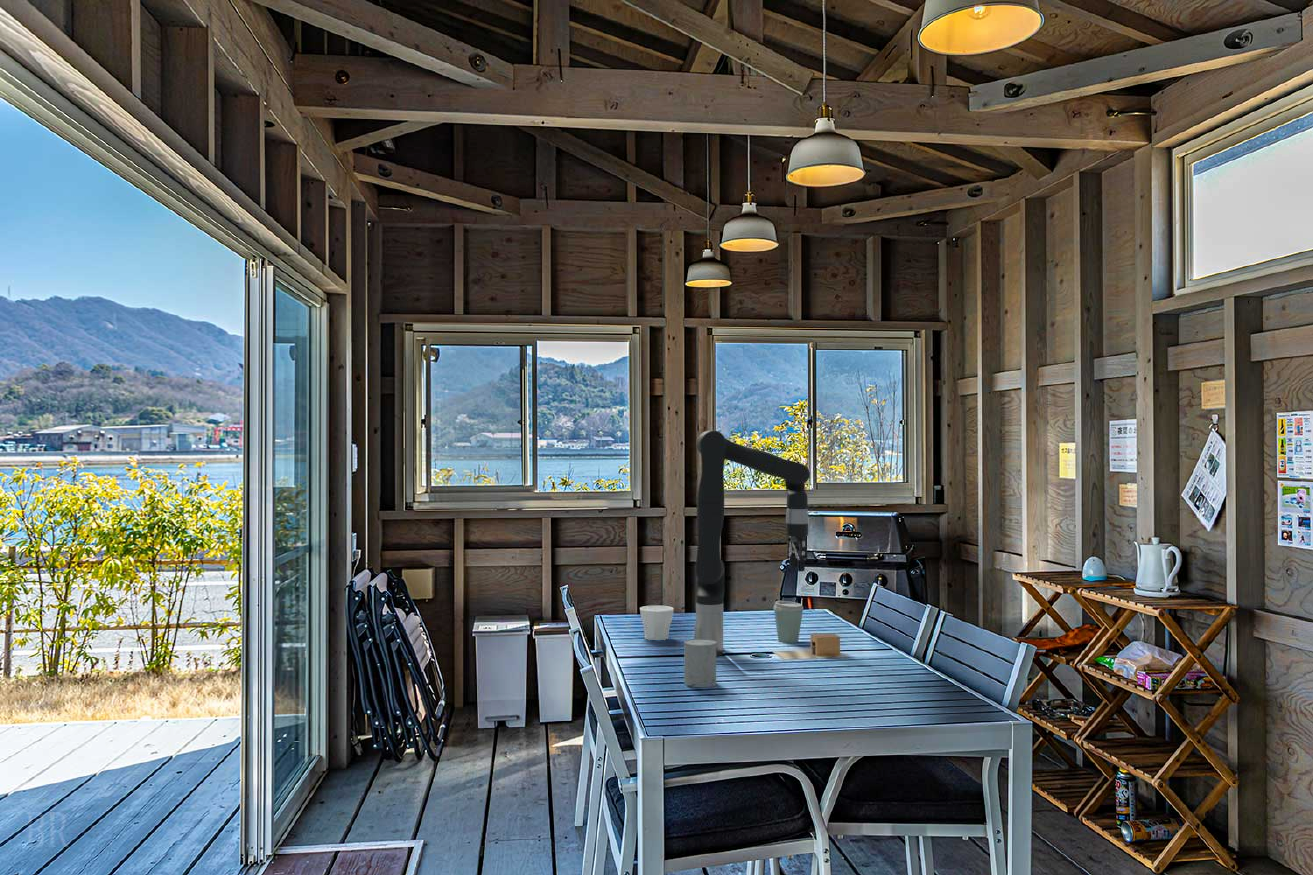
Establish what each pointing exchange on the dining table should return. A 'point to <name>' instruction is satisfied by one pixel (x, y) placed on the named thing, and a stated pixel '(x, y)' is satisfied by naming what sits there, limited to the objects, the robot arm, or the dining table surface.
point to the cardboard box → (825, 644)
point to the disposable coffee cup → (788, 620)
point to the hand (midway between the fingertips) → (796, 569)
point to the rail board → (803, 654)
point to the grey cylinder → (700, 662)
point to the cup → (656, 621)
